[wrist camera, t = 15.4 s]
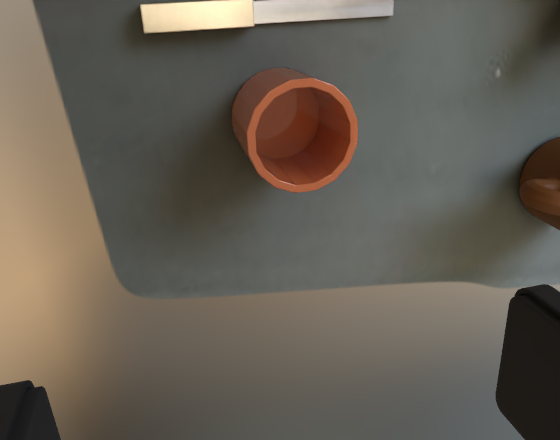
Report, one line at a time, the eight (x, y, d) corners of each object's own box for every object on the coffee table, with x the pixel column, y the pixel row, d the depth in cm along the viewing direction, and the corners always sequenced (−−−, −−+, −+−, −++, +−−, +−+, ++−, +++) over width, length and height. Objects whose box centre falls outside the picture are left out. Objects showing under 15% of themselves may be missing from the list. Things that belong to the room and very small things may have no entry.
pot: (235, 167, 37) (251, 198, 30) (227, 71, 34) (242, 83, 28) (324, 157, 38) (357, 185, 32) (322, 63, 35) (358, 74, 29)
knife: (144, 33, 32) (143, 33, 31) (140, 4, 31) (139, 3, 30) (391, 18, 35) (398, 18, 34) (392, -9, 34) (399, -10, 33)
